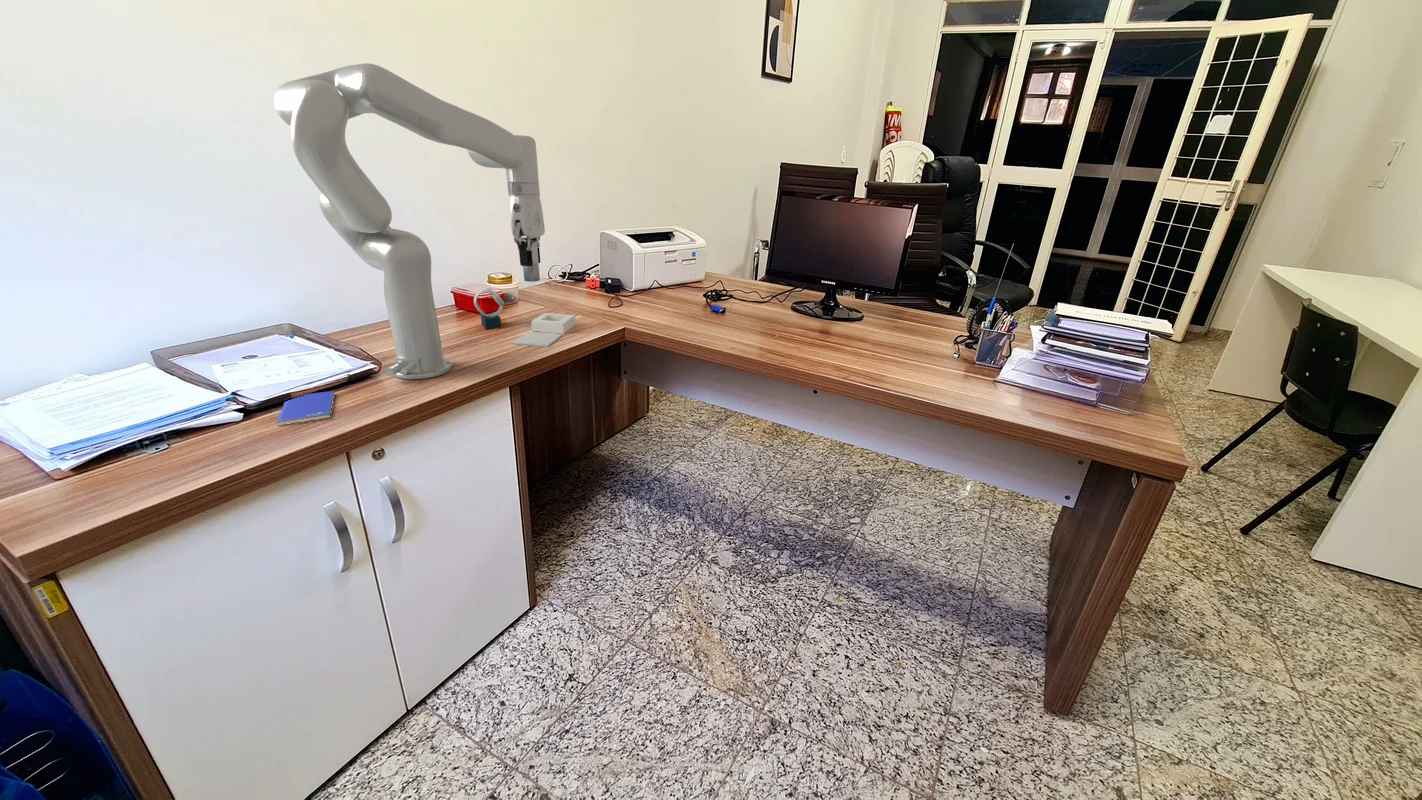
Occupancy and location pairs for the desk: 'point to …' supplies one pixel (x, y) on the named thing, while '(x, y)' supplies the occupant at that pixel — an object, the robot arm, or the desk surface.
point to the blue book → (306, 408)
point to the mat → (537, 339)
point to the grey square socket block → (553, 323)
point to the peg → (533, 271)
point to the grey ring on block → (491, 319)
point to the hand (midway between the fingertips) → (530, 263)
